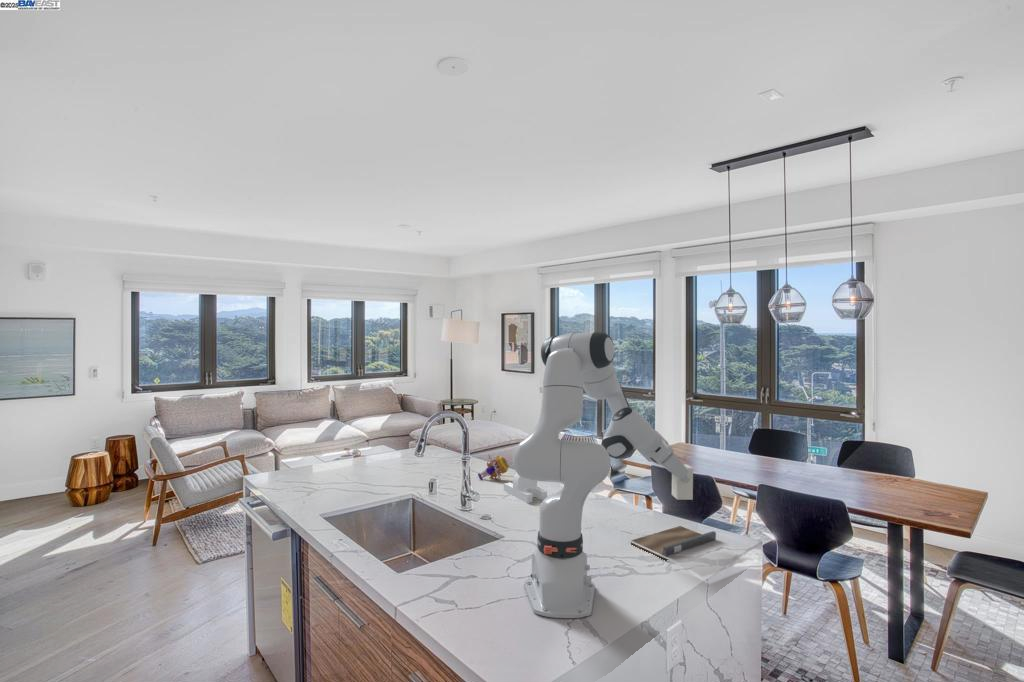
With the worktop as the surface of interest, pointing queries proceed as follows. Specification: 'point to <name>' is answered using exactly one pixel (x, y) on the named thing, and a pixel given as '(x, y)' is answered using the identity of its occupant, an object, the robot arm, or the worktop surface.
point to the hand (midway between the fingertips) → (683, 478)
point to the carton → (683, 486)
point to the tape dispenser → (524, 489)
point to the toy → (495, 468)
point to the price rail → (689, 543)
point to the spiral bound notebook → (664, 539)
